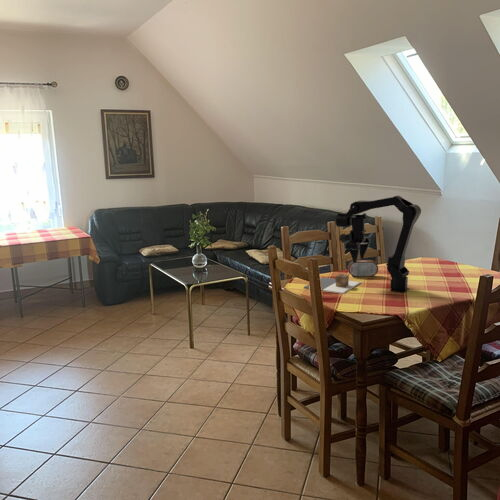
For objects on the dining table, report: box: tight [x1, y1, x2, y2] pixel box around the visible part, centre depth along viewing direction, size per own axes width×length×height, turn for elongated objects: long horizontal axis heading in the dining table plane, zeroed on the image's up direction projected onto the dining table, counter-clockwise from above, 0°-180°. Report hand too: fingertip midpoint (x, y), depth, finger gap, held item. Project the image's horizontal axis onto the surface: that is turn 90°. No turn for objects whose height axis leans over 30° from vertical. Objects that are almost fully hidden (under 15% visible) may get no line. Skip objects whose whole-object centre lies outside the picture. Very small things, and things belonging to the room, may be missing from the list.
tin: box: [347, 259, 379, 278], centre depth 252 cm, size 15×3×8 cm, turn 84°
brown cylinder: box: [335, 273, 350, 288], centre depth 235 cm, size 4×4×5 cm
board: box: [303, 277, 361, 295], centre depth 238 cm, size 20×20×1 cm
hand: (358, 260), depth 236 cm, fingers open, 9 cm apart
